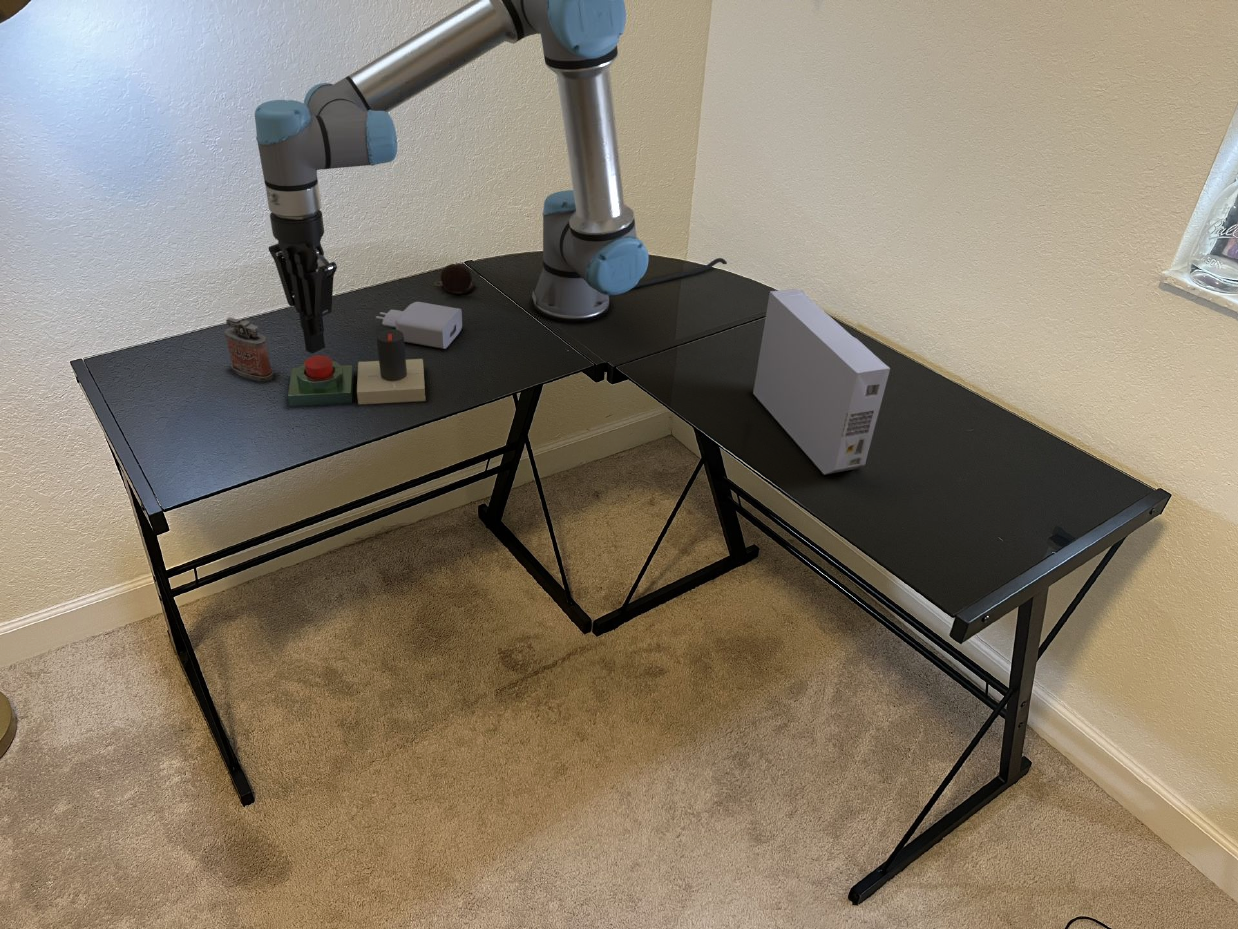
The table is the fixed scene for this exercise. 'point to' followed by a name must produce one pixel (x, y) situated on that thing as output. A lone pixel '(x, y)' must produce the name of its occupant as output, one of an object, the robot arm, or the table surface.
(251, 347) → the lighter
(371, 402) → the hob panel
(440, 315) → the charger
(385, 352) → the hob knob
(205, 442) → the table surface
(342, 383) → the box
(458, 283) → the dark brown round lump
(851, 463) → the game console
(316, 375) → the button
